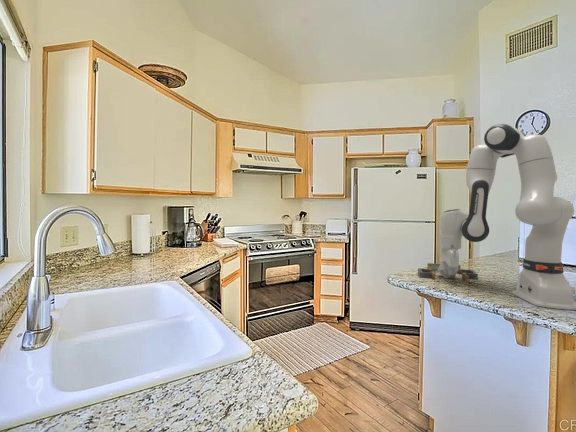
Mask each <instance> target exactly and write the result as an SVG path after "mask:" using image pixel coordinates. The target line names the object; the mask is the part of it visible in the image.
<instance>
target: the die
mask: <svg viewBox="0 0 576 432" xmlns="http://www.w3.org/2000/svg"><path fill="white" fill-rule="evenodd" d="M439 264H440V266H439V268H438V270H437V271H438V273H439V274H440V275H441V276H442V277H443V278H445V279H455V278H456V276H457V274H458V273H457V271H458V269H459V268H453V270H452V274H448V273H447V267H446V263H445V262H444V261H443V260H442V261H441V262H440V263H439Z"/></svg>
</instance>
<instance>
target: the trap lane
mask: <svg viewBox="0 0 576 432" xmlns="http://www.w3.org/2000/svg"><path fill="white" fill-rule="evenodd" d="M426 264H427V266H426V268H420V267H418V269H417V274H418V276H419V277H418V278H421V279H431V280H436V277H435V276H436V274H435V271H437V270H438V268H439V266H440V264H441V263H433V262H427V263H426ZM458 268H459V269H458V271H457V273H456V274H458V275H460V274H461V278H462V279H463V281H464V280H465V281H466V282H465V281H464V282H465V283H469V282H470V280H478V279H479V278H478V277H479V276H478V275H479V274H478V273H477V272H476V271H474V269H466V268H461V264H459V266H458ZM437 272H438V271H437ZM438 273H439V272H438Z"/></svg>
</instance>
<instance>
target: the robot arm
mask: <svg viewBox="0 0 576 432" xmlns="http://www.w3.org/2000/svg"><path fill="white" fill-rule="evenodd" d="M483 138H484V139H483V140H484V144H478V145H475V146H474V147H473V148H472V149H471V151H470V155H469V157H468V161H467V165H466V175H465V179H466V180H465V181H466V185H467V187H468V191H469V194H470V197H469V198H470V200H469V209H468V210H469V211H468V213H466V212H464V211H463V210H461V209H459V208H458V209H454V208H453V209H448V210H446V211H444V212H443V213H442V214H441V218H440V236H439V248H440V250H441V252H440V253H441V254H440V255H441V260H442V261H444V262H445V263H446V267H447V273H448V274H452V270H453V268H458V266H459V265H460V263H459V262H460V259H459V258H460V256H459V254H460V253H459V250H460V249H462V237H463V238H464V239H466V240H468V241H469V242H471V243H472V242H473V243H479V242H482V241H484V240H486V239H487V237H488V236H489V235H490V226H489V224H488V221H487V207H488V198H489V195H490V191H491V188H492V185H493V183H494V179H495V175H496V171H497V164H498V160H499V159H500V158H501V159H502V158H506V157H511V156H514V155H515V157H516V163H517V166H518V172H519V177H520V179H519V180H520V183H521V185H520V188H521V190H520V197H519V202H518V203H517V204H516V206H515V209H514V212H515V216H516V218H517V219H518V221H520V222H521V223H524V224H527V225H531V226H532V228H531V230H530V233H529V234H528V236H527V237H526V238H525V243H524V244H525V245H524V246H525V247H524V258H523V260H522V268H523V269H522V270H521V271H519V273H518V275H517V282H516V283H517V284H516V290H512V291H511V294H512V295H514V296H516V297H518V298H519V299H522V300H524V301H525V302H528V303H529V304H532V305H534V306H537V307H543V308H548V309H556V310H557V309H558V310H569V311H570V310H572V311H574V310H575V311H576V300H575V299H574V294H575V293H576V287H574V286H571V285H570V283H569V281H568V280H567V278H566V277H565V275H564V272H565V271H564V266H563V262H562V252H563V251H562V250H563V242H564V237H565V234H566V232H567V231H566V230H567V229H568V225H569V222H570V220H571V219H572V218H573V216H574V214H575V208H574V205H573V204H572V203H571V201H569V200H567V199H565V198H562V197H560V196H559V197H558V196H554V189H555V183H556V181H557V180H558V174H557V171H556V166H555V161H554V160H555V159H554V155H553V152H552V149H551V147H550V146H551V145H549V142H548V139H547V138H546V137H545V136H544V135H542V134H534V133H533V134H528V135H526V133H524V132H523V131H521V130H519V129H518V128H517V127H515V126H512V125H509V124H505V123H498V124H494V125H492V126H490V127H489V128H488V129H487V130H486V132H485V133H484V137H483Z"/></svg>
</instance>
